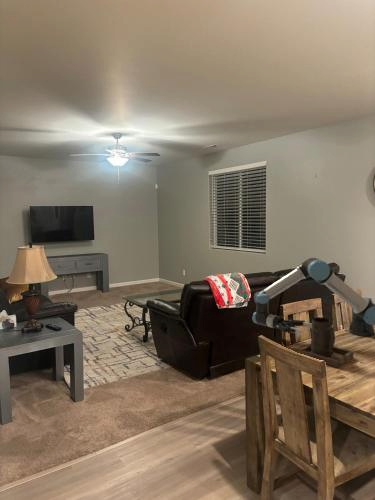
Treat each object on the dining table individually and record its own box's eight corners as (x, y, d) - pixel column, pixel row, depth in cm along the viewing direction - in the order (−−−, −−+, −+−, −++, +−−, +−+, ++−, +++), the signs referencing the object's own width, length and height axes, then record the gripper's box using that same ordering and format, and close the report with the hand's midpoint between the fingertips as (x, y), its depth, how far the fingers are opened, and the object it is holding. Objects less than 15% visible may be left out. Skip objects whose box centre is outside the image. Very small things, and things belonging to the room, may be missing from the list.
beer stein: (305, 352, 206) (307, 318, 203) (319, 348, 211) (321, 315, 208) (328, 363, 193) (330, 327, 189) (341, 359, 198) (344, 323, 195)
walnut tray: (314, 347, 215) (314, 341, 215) (353, 357, 199) (353, 351, 198) (297, 356, 203) (297, 350, 203) (337, 367, 186) (337, 361, 186)
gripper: (287, 323, 232) (318, 330, 216) (263, 332, 215) (295, 341, 199) (287, 311, 231) (318, 318, 215) (263, 320, 214) (295, 327, 199)
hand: (307, 329), depth 207 cm, fingers open, 13 cm apart
